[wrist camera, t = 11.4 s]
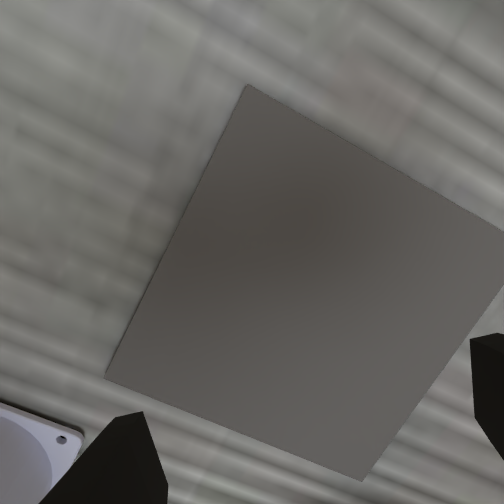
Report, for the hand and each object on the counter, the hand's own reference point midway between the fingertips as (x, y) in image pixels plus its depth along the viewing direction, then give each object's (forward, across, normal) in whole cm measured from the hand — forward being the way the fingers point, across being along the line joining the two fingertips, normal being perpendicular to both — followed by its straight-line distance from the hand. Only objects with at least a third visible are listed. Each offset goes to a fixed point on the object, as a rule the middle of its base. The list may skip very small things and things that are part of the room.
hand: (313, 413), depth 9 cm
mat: (+10, -2, +3) cm, 11 cm away
